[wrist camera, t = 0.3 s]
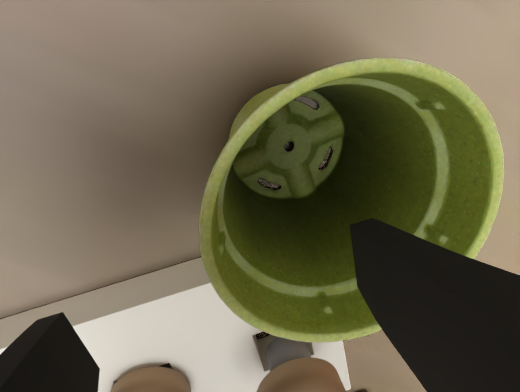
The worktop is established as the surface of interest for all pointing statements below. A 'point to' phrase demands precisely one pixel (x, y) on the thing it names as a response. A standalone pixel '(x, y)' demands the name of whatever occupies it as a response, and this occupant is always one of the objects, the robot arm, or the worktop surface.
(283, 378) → the knob
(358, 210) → the plant pot
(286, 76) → the worktop surface
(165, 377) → the knob middle
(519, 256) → the worktop surface
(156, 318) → the mount plate
